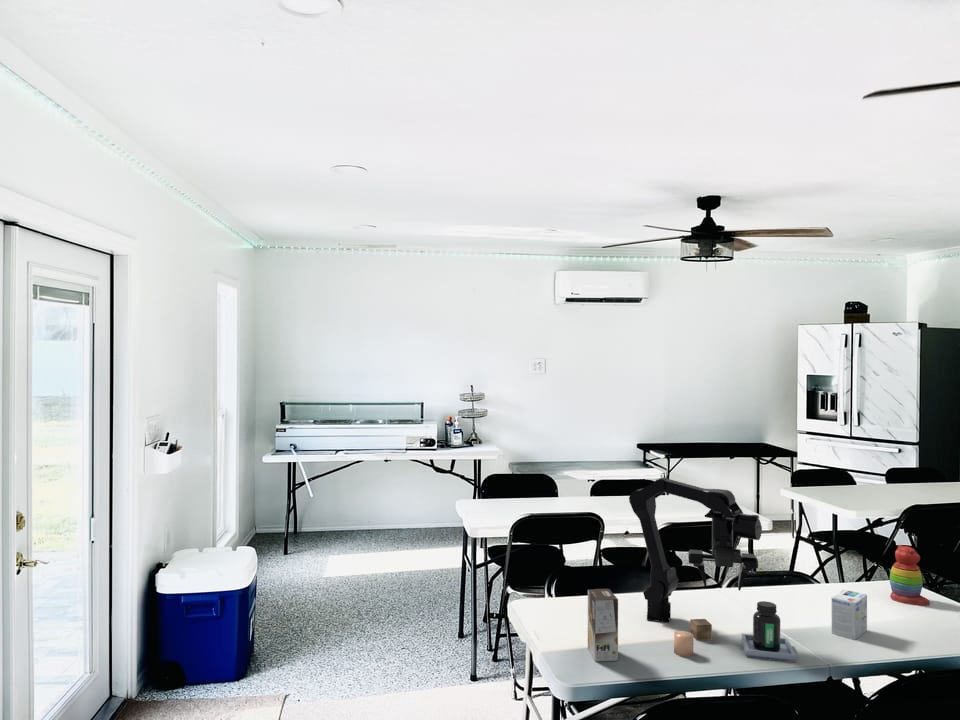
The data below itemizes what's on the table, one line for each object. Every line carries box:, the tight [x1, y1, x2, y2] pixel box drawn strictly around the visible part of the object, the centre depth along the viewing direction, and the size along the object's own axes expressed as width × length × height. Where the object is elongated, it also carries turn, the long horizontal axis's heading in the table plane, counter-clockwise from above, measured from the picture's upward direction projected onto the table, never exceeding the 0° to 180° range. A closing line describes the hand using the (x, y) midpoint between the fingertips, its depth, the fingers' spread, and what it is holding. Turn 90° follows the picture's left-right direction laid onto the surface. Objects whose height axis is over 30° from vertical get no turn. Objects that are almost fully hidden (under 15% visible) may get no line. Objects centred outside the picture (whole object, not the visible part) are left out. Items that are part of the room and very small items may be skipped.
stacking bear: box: [889, 544, 931, 606], centre depth 229 cm, size 11×10×18 cm
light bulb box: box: [831, 589, 868, 641], centre depth 200 cm, size 11×7×11 cm, turn 134°
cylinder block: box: [673, 630, 694, 658], centre depth 185 cm, size 5×5×5 cm
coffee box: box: [587, 588, 619, 662], centre depth 183 cm, size 9×6×16 cm
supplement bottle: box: [752, 600, 781, 652], centre depth 187 cm, size 7×7×12 cm
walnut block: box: [689, 618, 713, 641], centre depth 196 cm, size 4×4×4 cm
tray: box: [741, 633, 796, 663], centre depth 187 cm, size 12×12×2 cm
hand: (722, 588), depth 198 cm, fingers open, 9 cm apart
